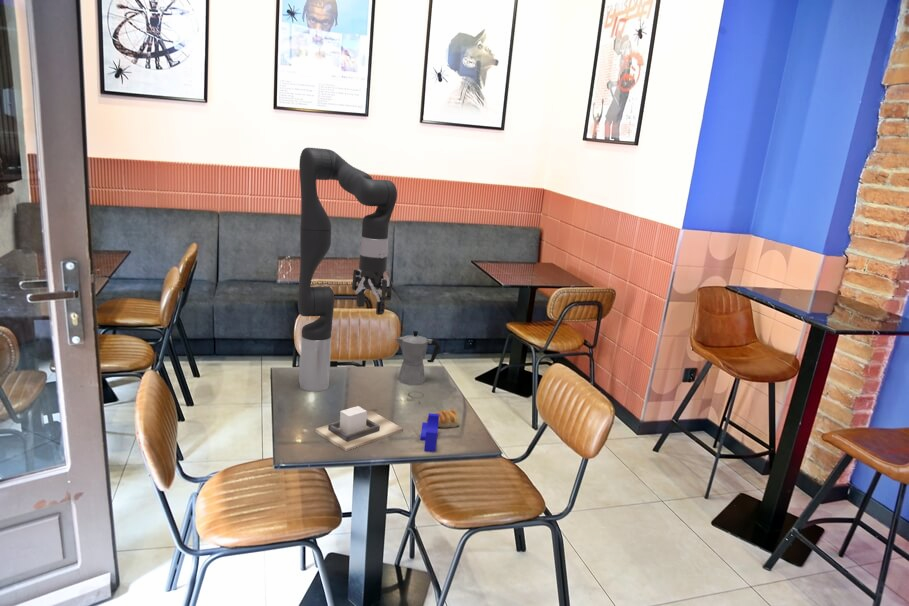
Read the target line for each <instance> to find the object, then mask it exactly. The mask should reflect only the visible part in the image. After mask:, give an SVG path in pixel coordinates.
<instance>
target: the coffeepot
mask: <svg viewBox="0 0 909 606" xmlns="http://www.w3.org/2000/svg"><path fill="white" fill-rule="evenodd" d="M412 333H413V335H410V334H409V335H405V336H398V337H396V338H395V341H396V342H398V345H399V347H400V349H401V354H402V358H403V361H402V362H401V367H400V371H399V375H398V378H397V379H398V381H399V382H400V383H401V384H404V385H408V386H417V385H419V386H420V385H423V383H424V382H426V375H425V366H424V363H423V361H424V360H425V358H426V353H427V349H428V347H429V346H435V347H434V349H433V353H432V354H431V358H430V359H427V360H426V361H427V363H434V362H435V359H436V357H437V356H438V353H439V351H440V349H441V344H440V342H439V341H438V340H437V339H433V338H432V339H431V338H427V337H425V336H422V335H418V334H419V332H418V331H417V330H413V332H412Z"/></svg>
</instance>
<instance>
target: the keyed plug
mask: <svg viewBox="0 0 909 606" xmlns="http://www.w3.org/2000/svg"><path fill="white" fill-rule="evenodd" d="M339 411H340V415H339V421H340V429H339V430H341V431H343V432H344V433H346V434H347V435H349V434H352V433H355V432H358V431H361V430H364V429H366V419H367V412H368V410H366V409H365V408H362V407H361V406H359V405H356V406H353V407H349V408H347V409H343V410H339Z"/></svg>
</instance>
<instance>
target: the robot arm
mask: <svg viewBox="0 0 909 606" xmlns="http://www.w3.org/2000/svg"><path fill="white" fill-rule="evenodd" d="M317 180H318V181H319V180H320V181H330V180H331V181H332V180H333V181H338V184H339V186H340V187H341V188H342V189H343V190H344V191H345V192H347V193H349V194H350V195H353V196H354V197H355V198H356V200H357V202H359V203H360V204H361V205H363V206H366V207H376V209H375V211H374V212H373V213H369V214H367V215H364V217H363V218H362V222H361V223H362V225H361V227H362V229H361V241H360V244H359V246H360V247H359V260H358V261H359V262H358V269H353V274H352V283H351V284H352V285H351V289H352V291H354V292H355V293H356V307H358V308H363V307H365V305H366V303H365V301H366V294H365V293H366V291H367V290H369V291H371V292H372V294H373V295H374V296H375V298H376V300H377V301H376V306H375V314H376V315H378V316H380V315H384V313H385V309H386V308H385V307H386V302H387V301H392V282H393V281H392V279H391V278H385V277H384V273H385V272H386V271H387V266H388V265H387V264H388V251H389V243H388V242H389V241H388V238H389V237H388V236H389V224H390V221H391V217H392V215H393V211H394V208H395V207H396V203H397V199H398V190H397V186H396V185H395V183H394V182H392V181H391V180H388V179H373V177H372V176H371V175H370V174H368V173H367V172H365V171H363V170H361V169H359V168H357V167H354V166H353V165H351V164H350V163H348V162H347V160H345V159H344V158H343V157H342V156H340V154H338V153H337V152H336V151H333V150H331V149H328V148H320V147H319V148H318V147H305V148H304V149H302V151H301V153H300V157H299V183H300V198H301V199H300V200H301V201H300V203H301V204H300V208H301V209H300V226H299V227H300V233H299V234H300V236H299V238H300V239H299V240H300V241H299V244H300V246H299V249H300V250H299V251H300V253H299V254H300V257H299V258H300V262H299V263H300V269H299V277H298V278H299V280H298V290H297V309H298V314H299V315H300V316H301V317H318V318H316V319H315V320H314V321H312V322H309V323H307V324H305V325H304V326H303V327H302V329H301V339H300V340H301V341H300V344H301V345H300V356H299V364H298V384H299V387H300V389H301V390H304V391H306V392H323V391H325V390H327V389H328V388H330V373H331V372H330V371H331V349H332V330H333V318H334V310H335V309H334V308H335V294H334V293H335V292H334V291H333V288H332V287H331V286H312V280H313V277H314V274H315V272H316V270H317V268H318V266H319V265H320V263H322V262H323V260H324V258H325V256H326V255H327V254H328V252H329V250H330V248H331V244H332V222H331V220H330V217H329V216H328V213H327V212H326V210H325V208H324V206H323V205H322V203H321V201H320V198H319V196H318V190H317Z"/></svg>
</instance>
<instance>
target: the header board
mask: <svg viewBox="0 0 909 606" xmlns="http://www.w3.org/2000/svg"><path fill="white" fill-rule="evenodd" d="M339 429H340V420H337V421H336V422H332V423H329V424H325V425H323V426H320V427H315V428H314V432H315V433H316V434H317V435H319V436H321V437H323V438H324V439H325V440H327V441H328V442H330V443H331V444H333V445H335V446H337V447H338V448H339V447H340V448H339V449H341V450H342V449H343V451H345V452H348V450H349V451H351V450H350V449H352V450H354V449H357V448H360V447H362V445H363V446H365V445H367V443H368V444H371V443H373V441H374V442H376V440H377V441H379V440H382V439H384V438H387V437H390V436H393V435H395V434H399V433H401V432H403V431H404V428H403V427H401V426H400V425H397V424H396V423H394V422H392V421H391V420H389V419H387V418H386V417H384V416H382V415H379V414H378V413H376V412H374V411H372V410H371V411H367V419H366V429H364V430H361V431H358V432H355V433H352V434H349V435H347V434H346V433H344V432H343V431H341V430H339ZM370 442H371V443H370ZM364 444H365V445H364ZM359 446H360V447H359ZM356 447H357V448H356ZM353 448H354V449H353Z"/></svg>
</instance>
